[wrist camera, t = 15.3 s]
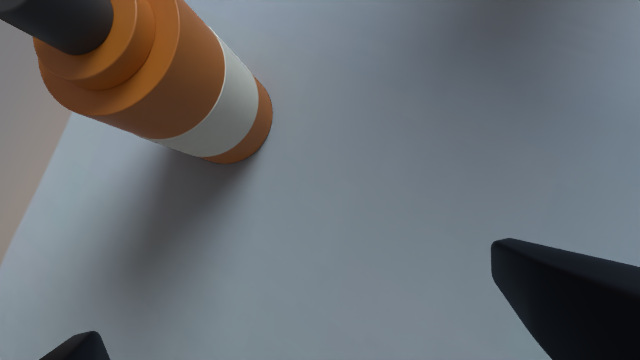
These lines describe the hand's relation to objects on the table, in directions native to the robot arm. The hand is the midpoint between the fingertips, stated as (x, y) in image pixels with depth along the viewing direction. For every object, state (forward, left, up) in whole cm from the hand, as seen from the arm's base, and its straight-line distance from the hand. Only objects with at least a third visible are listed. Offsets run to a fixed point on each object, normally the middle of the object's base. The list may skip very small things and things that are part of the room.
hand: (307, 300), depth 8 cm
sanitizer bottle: (+9, +7, -12) cm, 17 cm away
